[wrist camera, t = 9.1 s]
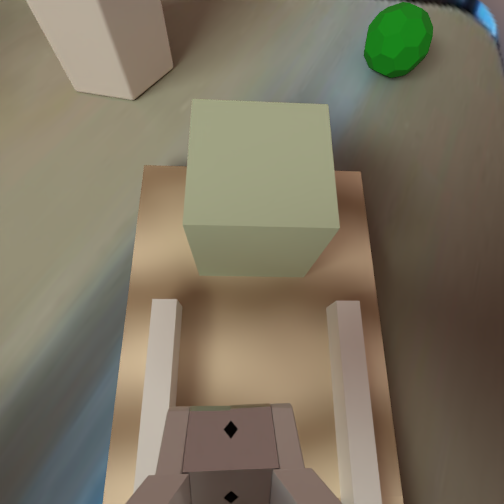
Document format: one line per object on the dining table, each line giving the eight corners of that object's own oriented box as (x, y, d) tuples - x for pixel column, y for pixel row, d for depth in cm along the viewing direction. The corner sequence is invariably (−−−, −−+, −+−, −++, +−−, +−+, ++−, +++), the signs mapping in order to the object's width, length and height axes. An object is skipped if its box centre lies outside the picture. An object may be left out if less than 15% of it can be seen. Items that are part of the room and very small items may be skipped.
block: (303, 277, 20) (339, 228, 13) (199, 275, 19) (182, 224, 13) (299, 186, 22) (328, 104, 15) (204, 183, 21) (192, 98, 15)
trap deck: (410, 743, 15) (443, 810, 13) (89, 762, 14) (61, 837, 12) (348, 190, 25) (360, 171, 22) (152, 185, 24) (144, 165, 22)
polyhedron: (386, 99, 28) (416, 47, 23) (343, 63, 29) (364, 6, 24) (424, 71, 29) (459, 16, 25) (381, 37, 30) (408, -21, 26)
